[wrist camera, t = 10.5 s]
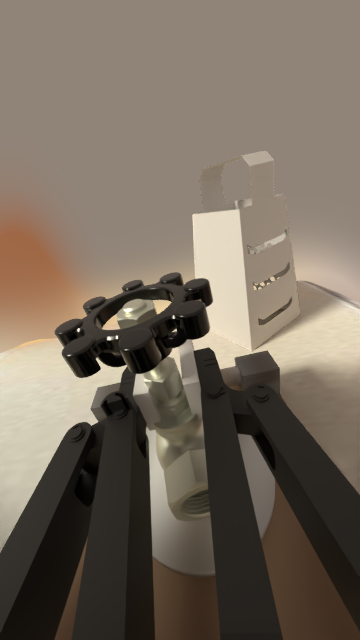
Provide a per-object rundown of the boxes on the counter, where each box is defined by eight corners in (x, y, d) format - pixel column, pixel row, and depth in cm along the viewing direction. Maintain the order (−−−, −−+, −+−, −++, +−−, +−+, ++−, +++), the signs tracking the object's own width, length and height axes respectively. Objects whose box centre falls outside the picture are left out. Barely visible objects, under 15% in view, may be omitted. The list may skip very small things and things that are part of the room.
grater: (242, 298, 40) (230, 164, 30) (300, 314, 32) (309, 138, 22) (197, 324, 35) (166, 178, 25) (251, 351, 27) (236, 152, 17)
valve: (224, 404, 18) (189, 262, 12) (269, 497, 12) (244, 310, 6) (146, 433, 18) (72, 300, 12) (155, 543, 12) (19, 387, 6)
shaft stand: (55, 697, 10) (-6, 694, 8) (115, 415, 23) (98, 385, 21) (413, 642, 9) (453, 622, 7) (267, 383, 23) (266, 348, 20)
